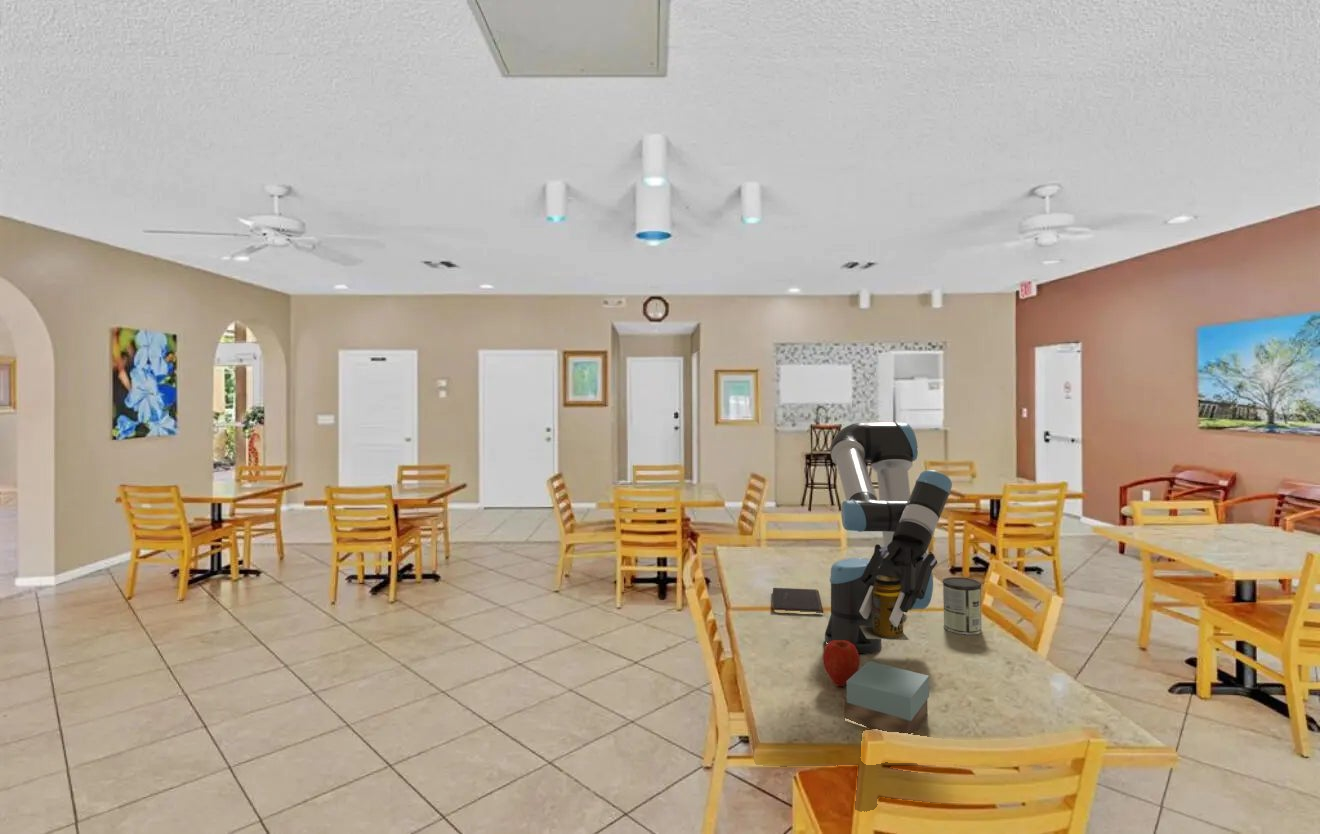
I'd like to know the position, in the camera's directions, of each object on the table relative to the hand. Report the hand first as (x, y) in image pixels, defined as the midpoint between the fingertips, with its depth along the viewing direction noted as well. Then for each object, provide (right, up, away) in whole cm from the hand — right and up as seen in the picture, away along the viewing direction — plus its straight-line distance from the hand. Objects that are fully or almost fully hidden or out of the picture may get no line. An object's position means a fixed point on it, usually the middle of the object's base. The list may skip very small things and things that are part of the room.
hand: (878, 619), depth 127 cm
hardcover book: (+1, -22, +81) cm, 84 cm away
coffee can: (+45, -21, +55) cm, 74 cm away
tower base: (+3, -22, +3) cm, 23 cm away
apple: (-2, -22, +18) cm, 29 cm away
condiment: (+2, -4, +3) cm, 6 cm away
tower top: (+3, -18, +3) cm, 18 cm away
